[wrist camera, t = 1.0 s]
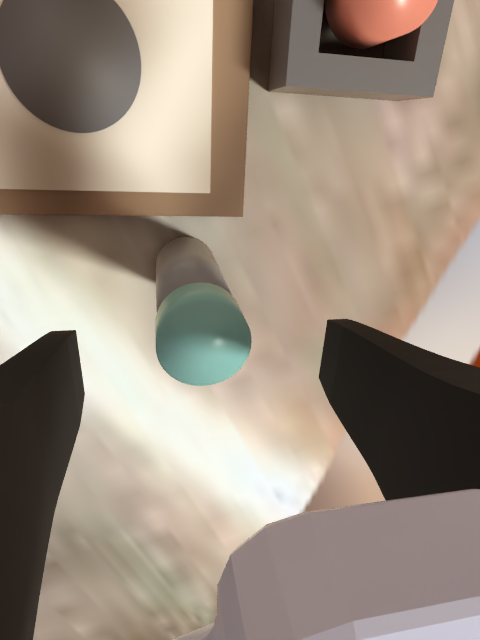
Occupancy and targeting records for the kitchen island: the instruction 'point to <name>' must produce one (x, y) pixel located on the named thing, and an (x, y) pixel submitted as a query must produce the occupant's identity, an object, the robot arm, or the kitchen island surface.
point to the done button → (375, 19)
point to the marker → (197, 316)
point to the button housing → (354, 57)
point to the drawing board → (124, 106)
